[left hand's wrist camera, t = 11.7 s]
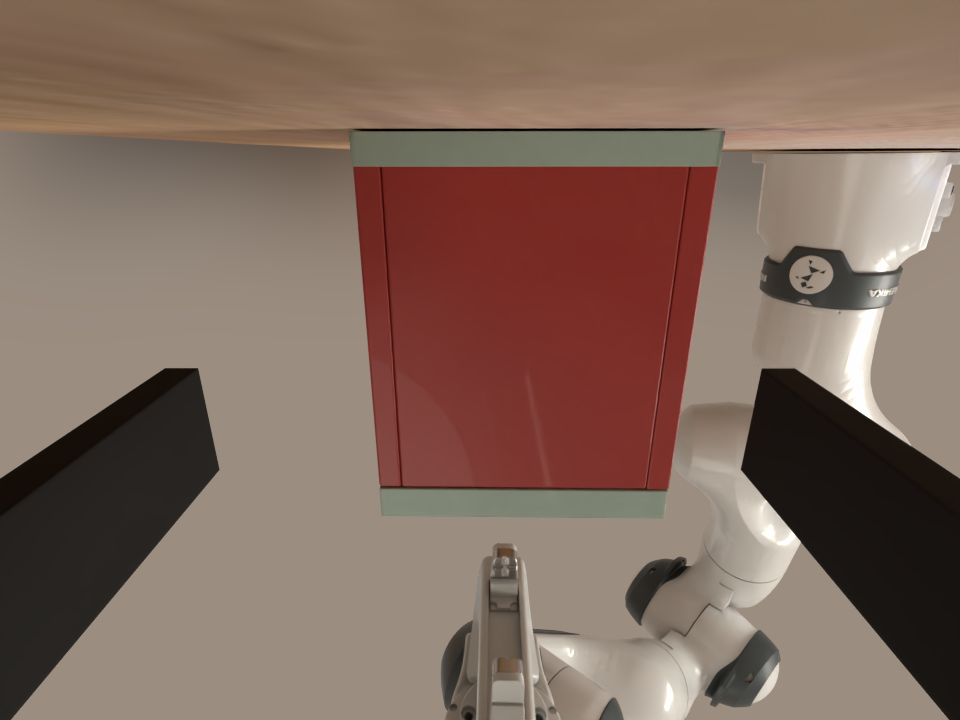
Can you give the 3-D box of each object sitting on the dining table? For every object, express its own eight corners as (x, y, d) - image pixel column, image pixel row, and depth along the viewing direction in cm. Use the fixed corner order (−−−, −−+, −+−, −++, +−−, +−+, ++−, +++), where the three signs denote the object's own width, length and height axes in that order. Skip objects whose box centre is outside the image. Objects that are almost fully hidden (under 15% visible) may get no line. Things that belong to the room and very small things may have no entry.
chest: (611, 143, 26) (593, 350, 30) (416, 143, 26) (424, 349, 30) (725, 131, 13) (669, 489, 17) (348, 131, 13) (378, 487, 17)
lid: (590, 345, 30) (580, 474, 34) (426, 344, 31) (431, 473, 34) (668, 491, 17) (639, 681, 20) (379, 488, 17) (395, 677, 21)
